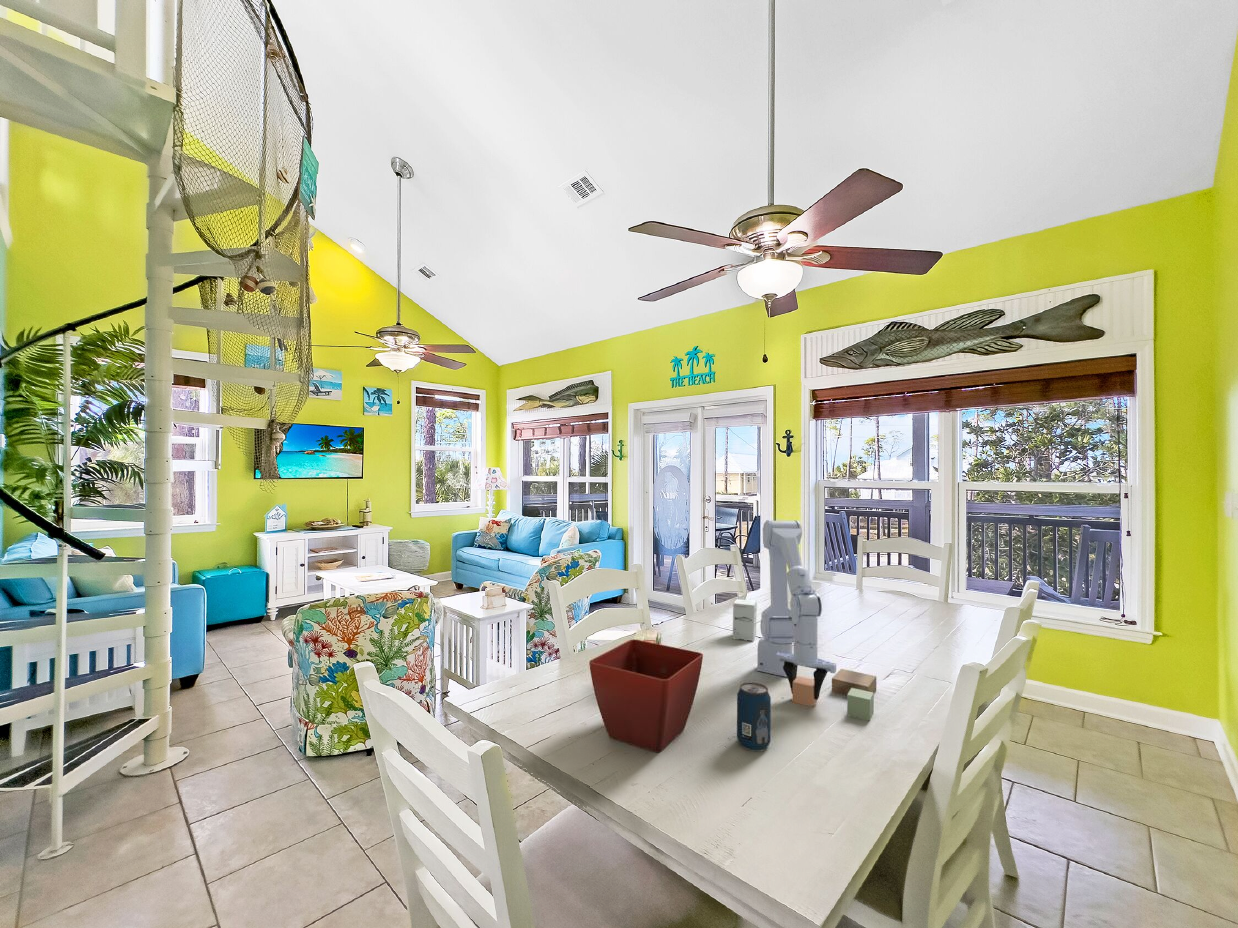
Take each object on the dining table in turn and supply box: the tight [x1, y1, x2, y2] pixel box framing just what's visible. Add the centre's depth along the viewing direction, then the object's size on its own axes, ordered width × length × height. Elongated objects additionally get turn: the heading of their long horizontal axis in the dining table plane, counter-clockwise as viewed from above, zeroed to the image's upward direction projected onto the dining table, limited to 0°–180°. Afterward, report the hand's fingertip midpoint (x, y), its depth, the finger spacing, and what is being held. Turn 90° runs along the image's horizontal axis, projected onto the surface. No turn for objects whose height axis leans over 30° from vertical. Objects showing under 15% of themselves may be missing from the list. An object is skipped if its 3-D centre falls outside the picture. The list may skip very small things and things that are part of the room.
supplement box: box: [732, 598, 758, 642], centre depth 191 cm, size 7×7×13 cm
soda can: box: [736, 682, 772, 752], centre depth 115 cm, size 7×7×12 cm
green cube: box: [846, 688, 875, 721], centre depth 131 cm, size 5×5×5 cm
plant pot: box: [588, 639, 704, 753], centre depth 120 cm, size 19×19×17 cm
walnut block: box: [831, 668, 877, 697], centre depth 144 cm, size 9×9×4 cm
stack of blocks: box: [632, 629, 663, 645], centre depth 155 cm, size 21×6×12 cm, turn 170°
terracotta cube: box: [791, 675, 819, 708], centre depth 138 cm, size 5×5×5 cm
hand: (805, 695), depth 138 cm, fingers closed on terracotta cube, 5 cm apart
